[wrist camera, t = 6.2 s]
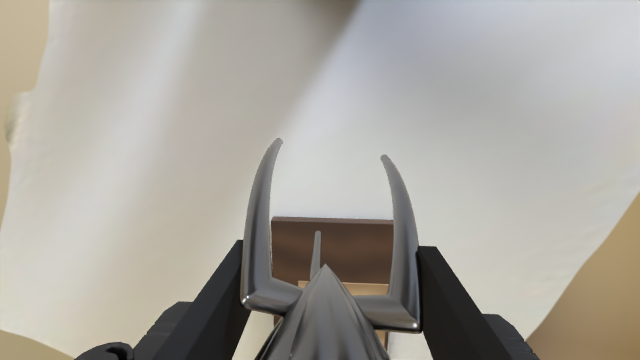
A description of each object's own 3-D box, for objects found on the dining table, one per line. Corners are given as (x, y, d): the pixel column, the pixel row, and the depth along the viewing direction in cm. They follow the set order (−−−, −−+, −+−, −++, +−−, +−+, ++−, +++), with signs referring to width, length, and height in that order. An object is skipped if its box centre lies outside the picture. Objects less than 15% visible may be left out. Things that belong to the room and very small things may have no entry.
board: (273, 216, 42) (270, 221, 40) (394, 220, 41) (397, 224, 39) (276, 354, 47) (274, 364, 45) (384, 360, 46) (386, 369, 45)
